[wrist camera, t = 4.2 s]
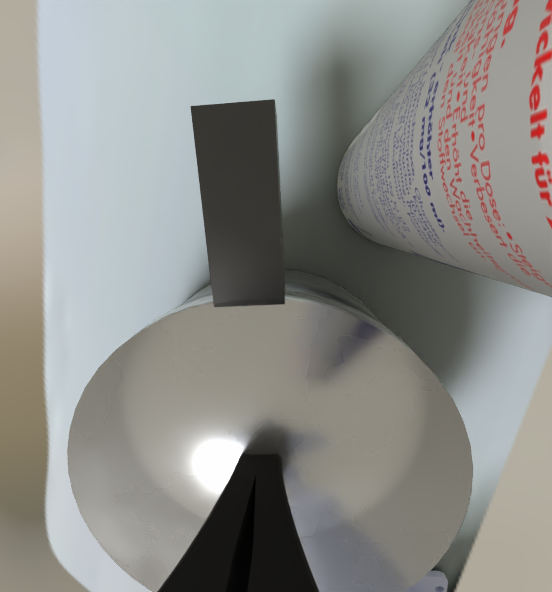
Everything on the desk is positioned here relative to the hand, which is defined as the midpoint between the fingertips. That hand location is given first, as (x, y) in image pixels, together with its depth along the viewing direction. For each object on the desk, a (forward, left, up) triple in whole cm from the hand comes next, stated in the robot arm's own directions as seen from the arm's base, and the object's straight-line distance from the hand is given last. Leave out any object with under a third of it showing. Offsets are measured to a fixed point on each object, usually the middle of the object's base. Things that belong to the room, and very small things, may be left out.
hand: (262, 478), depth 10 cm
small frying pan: (+2, 0, -1) cm, 2 cm away
